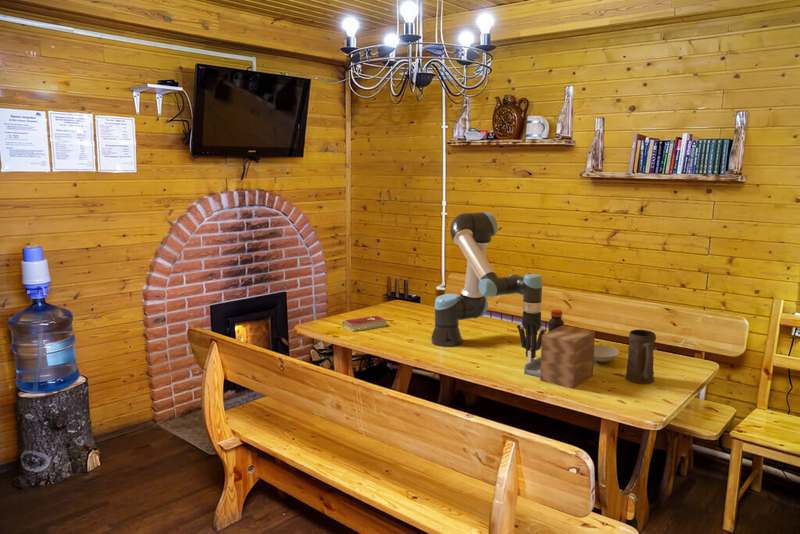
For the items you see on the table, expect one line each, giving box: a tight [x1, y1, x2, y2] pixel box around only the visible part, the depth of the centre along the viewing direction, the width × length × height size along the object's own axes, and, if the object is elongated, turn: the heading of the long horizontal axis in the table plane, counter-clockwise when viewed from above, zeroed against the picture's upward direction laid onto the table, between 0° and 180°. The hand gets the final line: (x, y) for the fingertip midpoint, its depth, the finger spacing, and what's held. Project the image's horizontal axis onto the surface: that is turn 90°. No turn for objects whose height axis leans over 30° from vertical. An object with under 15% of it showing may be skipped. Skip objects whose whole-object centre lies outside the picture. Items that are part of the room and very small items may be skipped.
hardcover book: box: [342, 315, 388, 332], centre depth 315 cm, size 12×21×4 cm, turn 119°
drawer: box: [523, 356, 541, 378], centre depth 240 cm, size 20×13×4 cm, turn 49°
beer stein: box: [625, 329, 657, 385], centre depth 230 cm, size 15×11×20 cm
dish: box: [594, 344, 620, 363], centre depth 255 cm, size 18×14×5 cm
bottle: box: [547, 309, 565, 333], centre depth 266 cm, size 7×7×20 cm
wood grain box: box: [539, 324, 596, 390], centre depth 235 cm, size 14×19×19 cm
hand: (530, 364), depth 247 cm, fingers closed
